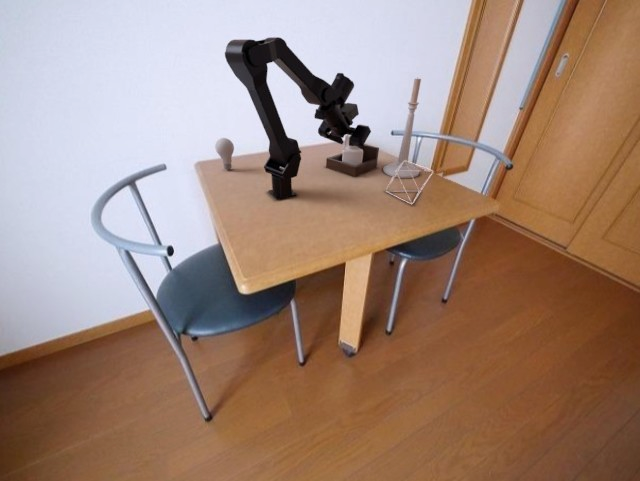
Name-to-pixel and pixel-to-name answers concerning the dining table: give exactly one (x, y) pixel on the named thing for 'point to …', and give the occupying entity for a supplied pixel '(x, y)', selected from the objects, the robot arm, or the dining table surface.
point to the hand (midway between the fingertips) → (352, 145)
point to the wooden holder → (354, 170)
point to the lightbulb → (225, 151)
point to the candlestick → (406, 141)
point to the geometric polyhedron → (402, 183)
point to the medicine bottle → (351, 152)
